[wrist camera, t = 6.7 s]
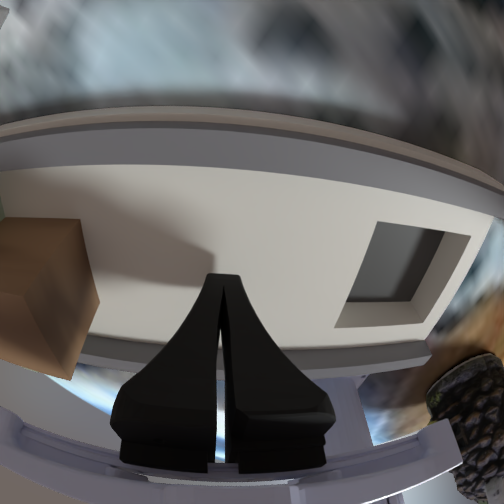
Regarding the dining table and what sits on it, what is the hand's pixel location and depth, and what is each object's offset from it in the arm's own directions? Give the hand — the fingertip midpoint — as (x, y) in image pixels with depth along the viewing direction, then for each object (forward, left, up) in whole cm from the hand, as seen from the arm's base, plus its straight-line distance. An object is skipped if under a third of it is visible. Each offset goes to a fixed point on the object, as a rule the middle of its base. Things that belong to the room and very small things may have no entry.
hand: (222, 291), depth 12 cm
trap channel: (0, -1, -3) cm, 4 cm away
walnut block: (0, +9, -1) cm, 9 cm away
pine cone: (-20, -36, -4) cm, 41 cm away
